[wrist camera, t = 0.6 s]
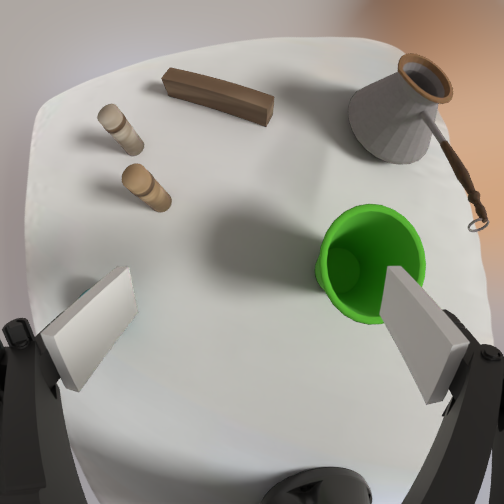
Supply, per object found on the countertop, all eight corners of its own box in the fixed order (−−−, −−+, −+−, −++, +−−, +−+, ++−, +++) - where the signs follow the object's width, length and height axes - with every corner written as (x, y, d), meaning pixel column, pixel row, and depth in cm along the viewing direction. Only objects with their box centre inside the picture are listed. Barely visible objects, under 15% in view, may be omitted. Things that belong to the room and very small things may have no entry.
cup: (333, 213, 31) (369, 179, 20) (388, 268, 31) (443, 260, 20) (279, 272, 31) (293, 266, 20) (338, 328, 30) (379, 348, 19)
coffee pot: (335, 94, 33) (367, 13, 18) (407, 103, 33) (456, 41, 18) (359, 253, 31) (435, 228, 16) (438, 249, 31) (523, 228, 16)
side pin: (138, 158, 32) (109, 125, 24) (123, 153, 32) (92, 120, 24) (148, 141, 33) (122, 105, 24) (133, 136, 33) (105, 101, 24)
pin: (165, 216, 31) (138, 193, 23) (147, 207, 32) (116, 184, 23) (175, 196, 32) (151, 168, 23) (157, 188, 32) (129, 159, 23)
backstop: (266, 127, 33) (267, 109, 29) (168, 96, 33) (161, 78, 29) (272, 115, 33) (274, 96, 29) (176, 85, 34) (169, 67, 30)
